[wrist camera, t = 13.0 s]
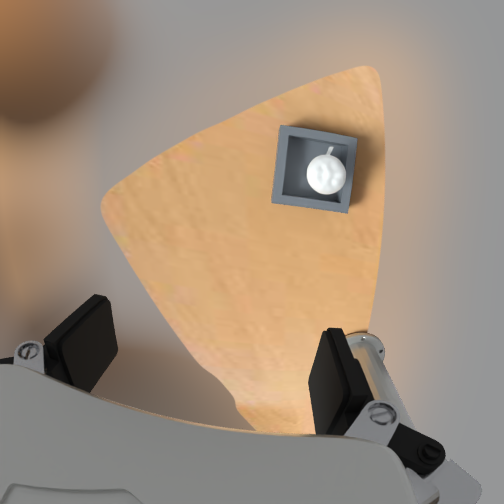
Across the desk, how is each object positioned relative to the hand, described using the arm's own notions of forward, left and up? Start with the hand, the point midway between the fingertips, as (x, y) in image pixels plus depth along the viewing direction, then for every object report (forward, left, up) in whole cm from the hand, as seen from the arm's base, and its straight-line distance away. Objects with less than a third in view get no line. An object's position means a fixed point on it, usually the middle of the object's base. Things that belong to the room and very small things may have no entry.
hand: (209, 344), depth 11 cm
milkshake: (+8, -8, -30) cm, 32 cm away
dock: (+8, -8, -30) cm, 32 cm away
